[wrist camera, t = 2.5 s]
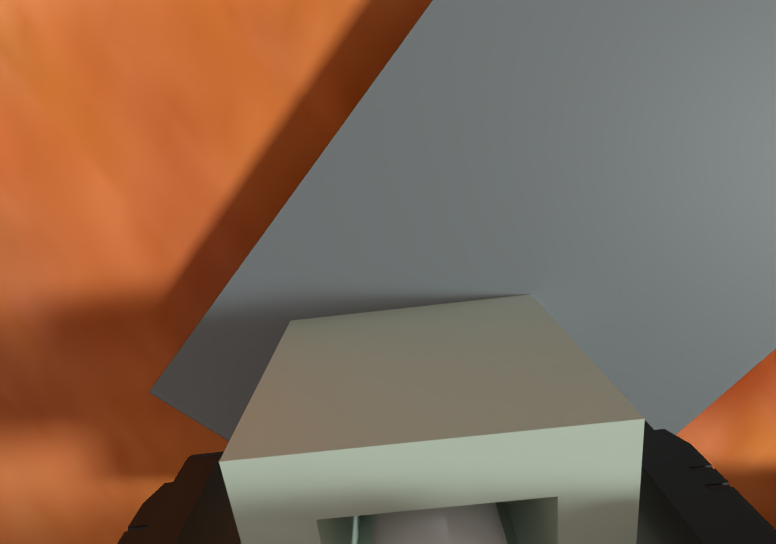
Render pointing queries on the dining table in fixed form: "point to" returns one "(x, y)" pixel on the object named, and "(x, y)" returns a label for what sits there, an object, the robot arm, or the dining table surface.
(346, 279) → the board
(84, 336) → the dining table surface
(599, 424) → the collar
